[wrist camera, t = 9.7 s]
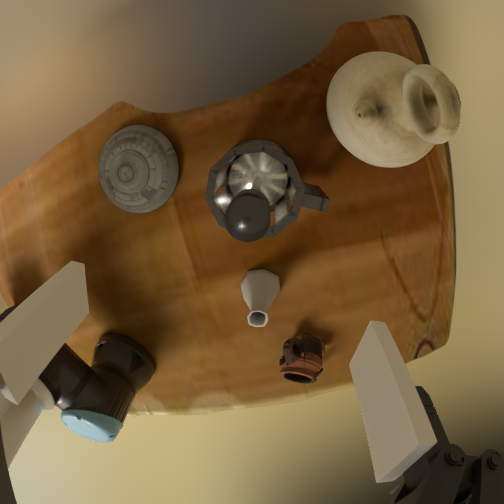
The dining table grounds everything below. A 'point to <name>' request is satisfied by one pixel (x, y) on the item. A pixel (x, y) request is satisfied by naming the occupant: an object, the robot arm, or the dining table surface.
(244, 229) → the plunger
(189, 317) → the dining table surface
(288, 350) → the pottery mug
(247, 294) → the flask
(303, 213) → the dining table surface
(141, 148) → the flying saucer
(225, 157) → the press carafe
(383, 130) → the jug
